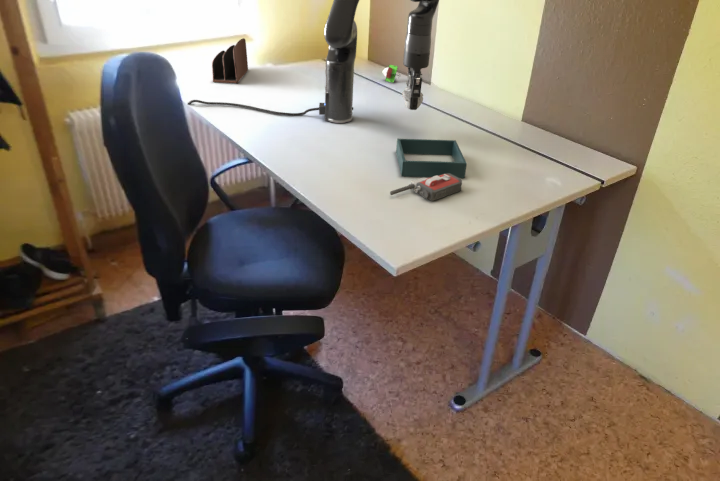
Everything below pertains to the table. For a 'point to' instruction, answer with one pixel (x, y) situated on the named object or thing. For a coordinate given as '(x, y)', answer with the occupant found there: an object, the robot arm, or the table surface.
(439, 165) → the open box
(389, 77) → the geometric puzzle
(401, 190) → the walkie-talkie
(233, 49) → the letter holder
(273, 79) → the table surface
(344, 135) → the table surface
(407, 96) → the white rounded figurine
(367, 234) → the table surface
